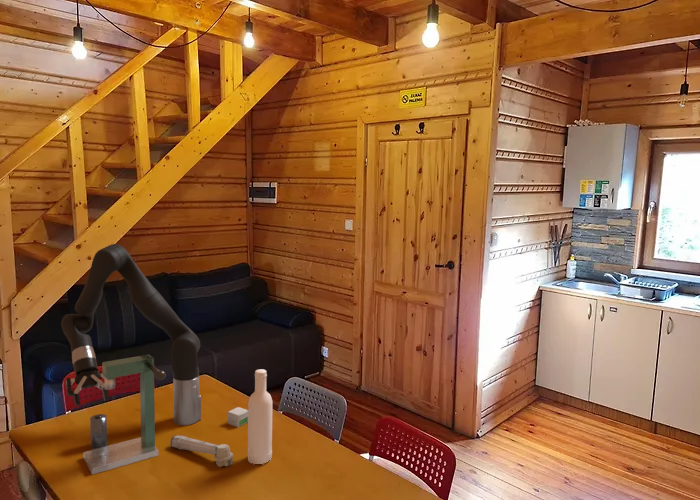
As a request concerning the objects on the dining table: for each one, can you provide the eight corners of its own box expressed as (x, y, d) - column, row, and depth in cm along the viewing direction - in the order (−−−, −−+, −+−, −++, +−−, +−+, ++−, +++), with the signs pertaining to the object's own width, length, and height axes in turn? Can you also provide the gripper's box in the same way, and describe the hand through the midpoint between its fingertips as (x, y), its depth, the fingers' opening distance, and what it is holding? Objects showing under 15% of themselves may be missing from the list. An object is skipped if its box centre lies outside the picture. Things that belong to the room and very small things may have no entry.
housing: (105, 440, 177) (104, 411, 176) (108, 446, 173) (108, 417, 172) (89, 444, 174) (88, 415, 173) (92, 450, 170) (92, 420, 169)
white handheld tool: (179, 432, 177) (235, 441, 165) (182, 451, 178) (237, 461, 166) (168, 438, 173) (224, 447, 161) (170, 457, 173) (226, 468, 161)
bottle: (276, 455, 171) (277, 368, 167) (264, 467, 163) (265, 376, 160) (255, 451, 173) (255, 365, 170) (242, 462, 166) (243, 373, 163)
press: (147, 440, 178) (145, 351, 174) (167, 467, 162) (166, 369, 158) (83, 458, 165) (80, 362, 162) (99, 488, 149) (96, 382, 146)
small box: (238, 427, 190) (238, 415, 189) (227, 423, 193) (227, 411, 192) (248, 422, 195) (249, 410, 194) (237, 418, 198) (237, 406, 197)
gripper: (63, 360, 180) (71, 402, 172) (107, 353, 189) (116, 393, 181) (61, 370, 185) (68, 411, 177) (104, 363, 193) (112, 402, 186)
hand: (92, 402), depth 179 cm, fingers open, 8 cm apart
